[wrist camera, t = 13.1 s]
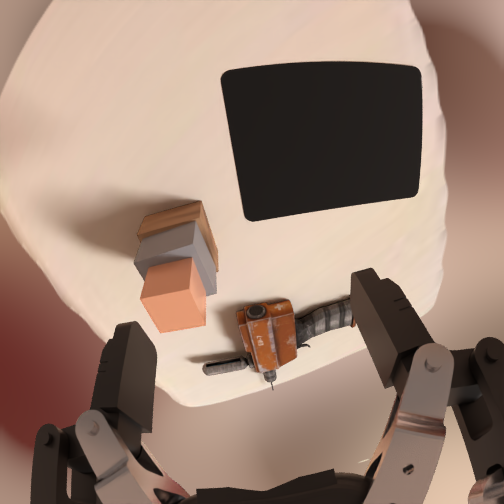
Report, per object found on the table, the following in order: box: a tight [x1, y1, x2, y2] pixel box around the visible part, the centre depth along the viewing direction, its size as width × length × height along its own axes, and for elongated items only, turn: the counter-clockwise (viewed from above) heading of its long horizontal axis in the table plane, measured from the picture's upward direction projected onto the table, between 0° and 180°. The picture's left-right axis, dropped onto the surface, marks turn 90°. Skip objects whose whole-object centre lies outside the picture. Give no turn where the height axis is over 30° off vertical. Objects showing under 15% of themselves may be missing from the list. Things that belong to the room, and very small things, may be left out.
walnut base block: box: [137, 201, 218, 272], centre depth 37 cm, size 8×8×5 cm
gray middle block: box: [134, 221, 217, 296], centre depth 33 cm, size 7×7×5 cm
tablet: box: [221, 62, 423, 222], centre depth 34 cm, size 27×1×20 cm
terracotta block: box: [140, 257, 206, 333], centre depth 29 cm, size 5×5×5 cm
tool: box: [202, 299, 356, 389], centre depth 54 cm, size 4×27×30 cm
